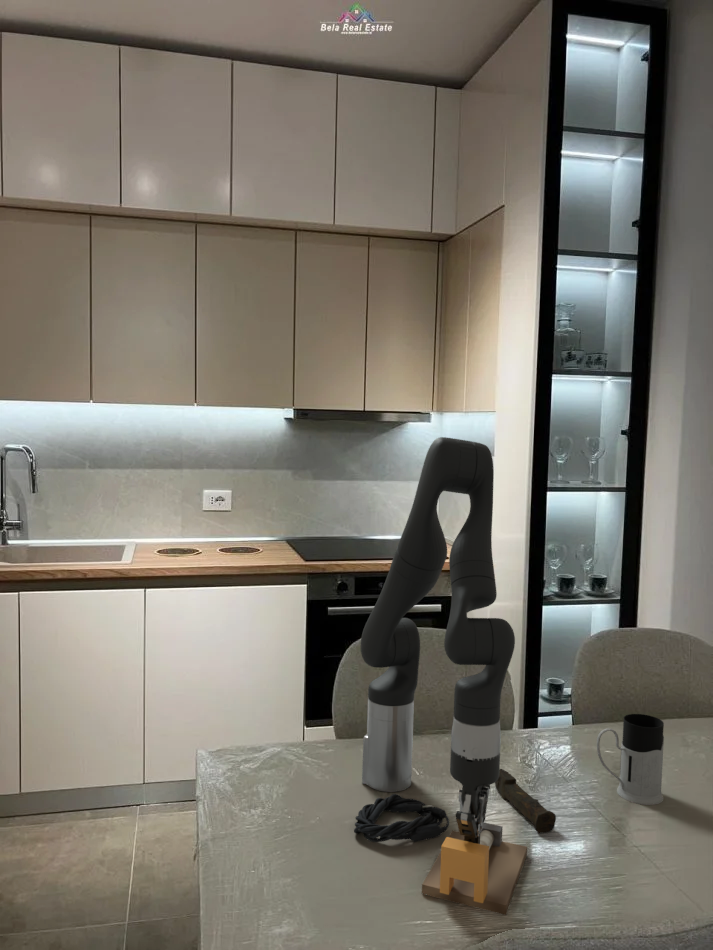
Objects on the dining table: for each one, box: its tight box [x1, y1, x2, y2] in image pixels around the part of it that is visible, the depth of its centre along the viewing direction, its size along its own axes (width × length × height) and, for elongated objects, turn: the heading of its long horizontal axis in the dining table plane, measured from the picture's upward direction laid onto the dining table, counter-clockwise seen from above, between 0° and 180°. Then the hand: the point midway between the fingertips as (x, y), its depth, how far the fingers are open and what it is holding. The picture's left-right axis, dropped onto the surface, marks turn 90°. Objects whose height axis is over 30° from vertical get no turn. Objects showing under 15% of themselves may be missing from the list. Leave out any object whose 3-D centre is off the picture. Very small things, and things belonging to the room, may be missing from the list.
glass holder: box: [596, 713, 665, 806], centre depth 157 cm, size 9×14×15 cm, turn 102°
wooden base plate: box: [421, 821, 528, 916], centre depth 128 cm, size 13×18×4 cm
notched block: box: [440, 836, 489, 903], centre depth 119 cm, size 7×3×7 cm, turn 68°
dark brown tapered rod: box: [494, 768, 557, 834], centre depth 150 cm, size 19×4×5 cm, turn 16°
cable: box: [353, 793, 450, 843], centre depth 142 cm, size 17×14×4 cm
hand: (471, 855), depth 123 cm, fingers closed
